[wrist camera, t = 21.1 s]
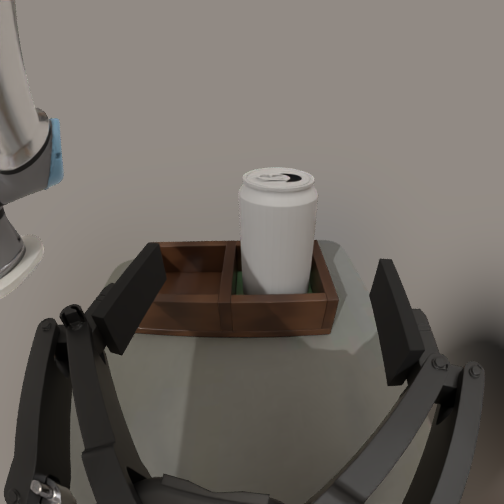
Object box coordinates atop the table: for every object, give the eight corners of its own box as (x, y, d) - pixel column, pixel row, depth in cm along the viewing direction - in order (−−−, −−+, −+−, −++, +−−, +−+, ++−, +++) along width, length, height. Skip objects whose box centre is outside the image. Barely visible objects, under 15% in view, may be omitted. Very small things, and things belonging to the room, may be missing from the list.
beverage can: (315, 310, 26) (332, 187, 19) (247, 320, 25) (243, 191, 18) (297, 271, 31) (304, 164, 24) (239, 277, 30) (234, 166, 24)
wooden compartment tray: (132, 333, 24) (118, 299, 22) (157, 272, 33) (150, 242, 30) (330, 334, 24) (339, 299, 22) (313, 271, 33) (316, 239, 30)
